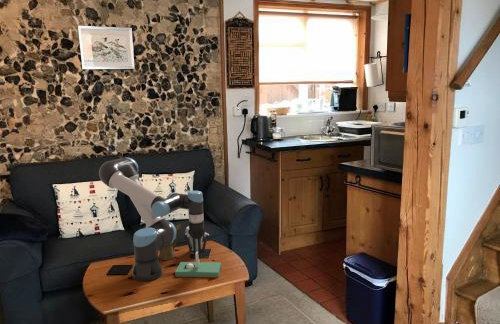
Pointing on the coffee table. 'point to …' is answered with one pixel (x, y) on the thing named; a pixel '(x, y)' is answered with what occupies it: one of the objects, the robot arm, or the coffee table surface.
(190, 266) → the ball
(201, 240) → the disposable coffee cup
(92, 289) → the coffee table surface
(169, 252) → the wooden mug
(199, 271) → the putting mat
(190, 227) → the robot arm
